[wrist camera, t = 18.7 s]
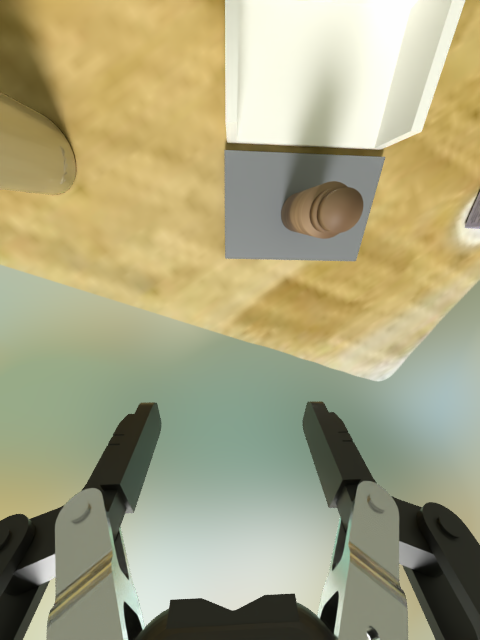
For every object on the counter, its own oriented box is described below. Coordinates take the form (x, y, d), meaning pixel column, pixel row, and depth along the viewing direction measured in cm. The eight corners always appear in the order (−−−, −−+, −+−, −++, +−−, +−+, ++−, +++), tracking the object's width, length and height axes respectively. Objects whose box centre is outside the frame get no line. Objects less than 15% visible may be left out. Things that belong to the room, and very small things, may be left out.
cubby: (227, 142, 28) (225, 121, 21) (226, -19, 21) (224, -114, 15) (380, 149, 28) (421, 131, 22) (421, -3, 22) (494, -87, 16)
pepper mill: (274, 223, 31) (303, 228, 19) (290, 186, 29) (335, 164, 17) (304, 236, 32) (349, 250, 20) (321, 201, 30) (385, 192, 18)
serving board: (225, 257, 34) (225, 258, 33) (224, 152, 28) (224, 149, 27) (352, 259, 35) (355, 261, 34) (379, 159, 29) (385, 157, 28)
